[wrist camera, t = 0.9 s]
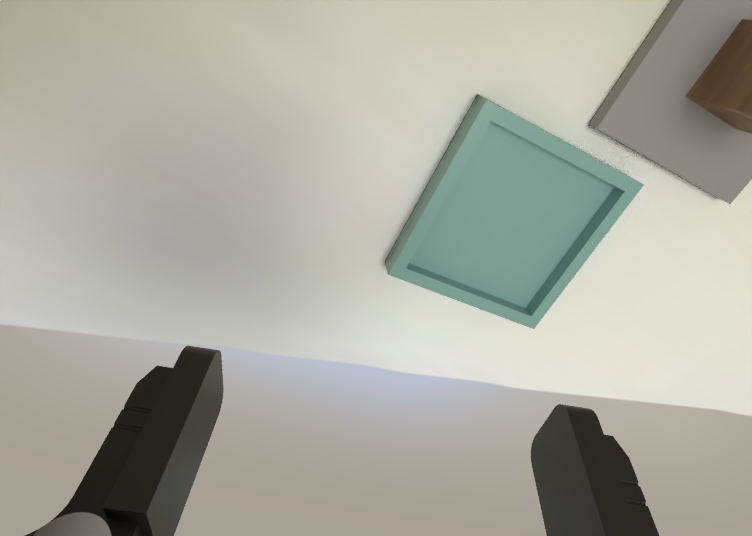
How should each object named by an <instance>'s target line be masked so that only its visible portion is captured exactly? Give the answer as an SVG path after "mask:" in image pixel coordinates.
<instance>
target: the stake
mask: <svg viewBox="0 0 752 536" xmlns="http://www.w3.org/2000/svg"><path fill="white" fill-rule="evenodd" d="M742 19H746V20H752V0H671V1H670V3H669V4H668V6H667V7H666V9H665V10H664V12H663V13H662V15H661V16H660V18H659V19H658V21H657V22H656V24H655V25H654V27H653V28H652V30H651V31H650V33H649V34H648V36H647V37H646V39H645V40H644V42H643V43H642V45H641V46H640V48H639V49H638V51H637V52H636V54H635V55H634V57H633V58H632V60H631V61H630V63H629V64H628V66H627V67H626V69H625V70H624V72H623V73H622V75H621V76H620V78H619V79H618V81H617V82H616V84H615V85H614V87H613V88H612V90H611V91H610V93H609V94H608V96H607V97H606V99H605V100H604V102H603V103H602V105H601V106H600V108H599V109H598V111H597V112H596V114H595V115H594V117H593V118H592V120H591V121H590V123H589V124H588V125H590V126H592V127H594V128H595V129H597V130H599V131H601V132H602V133H604V134H606V135H608V136H609V137H611V138H613V139H615V140H617V141H618V142H620V143H622V144H624V145H625V146H627V147H629V148H631V149H632V150H634V151H636V152H638V153H639V154H641V155H643V156H645V157H646V158H648V159H650V160H652V161H653V162H655V163H657V164H659V165H661V166H662V167H664V168H666V169H668V170H669V171H671V172H673V173H675V174H676V175H678V176H680V177H682V178H683V179H685V180H687V181H689V182H690V183H692V184H694V185H696V186H698V187H699V188H701V189H703V190H705V191H706V192H708V193H710V194H712V195H713V196H715V197H717V198H719V199H721V200H723V201H725V202H727V203H729V204H731V202H732V201H733V200H734V199H735V198H736V197H737V196H738V194H739V193H740V192H741V191H742V190H743V189H744V187H745V186H746V185H747V184H748V183H749V182H750V180H751V179H752V134H751V133H748V132H744V131H741V130H738V129H735V128H733V127H732V126H730V125H729V124H727V123H726V122H724V121H722V120H721V119H719V118H718V117H716V116H715V115H713V114H712V113H710V112H708V111H707V110H705V109H704V108H702V107H701V106H699V105H698V104H696V103H695V102H693V101H691V100H690V99H688V98H687V97H685V96H686V95H687V93H688V92H689V90H690V89H691V88H692V86H693V85H694V84H695V82H696V81H697V80H698V78H699V77H700V76H701V74H702V73H703V72H704V70H705V69H706V67H707V66H708V65H709V63H710V62H711V61H712V59H713V58H714V57H715V55H716V54H717V53H718V51H719V50H720V49H721V47H722V46H723V44H724V43H725V42H726V40H727V39H728V38H729V36H730V35H731V34H732V32H733V31H734V30H735V28H736V27H737V26H738V24H739V23H740V21H741V20H742Z"/></svg>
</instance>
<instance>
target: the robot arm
mask: <svg viewBox="0 0 752 536" xmlns="http://www.w3.org/2000/svg"><path fill="white" fill-rule="evenodd" d="M222 377H223V376H222V360H221V352H220V351H219V350H212V349H206V348H199V347H193V346H186V347H185V348H184V349H183V350H182V352H181V354H180V356H179V358H178V360H177V362H176V364H175V366H174V368H168V367H162V366H156V367H155V368H154V369H153V370H152V371H151V372H149V373H148V374H147V375H146V376H145V377H144V378H143V379H141V380H140V381H139V382H138V383H137V384H136V386H135V388H134V390H133V391H132V393H131V395H130V397H129V398H128V400H127V402H126V404H125V407H124V409H123V410H122V411H121V412H120V414H119V416H118V418H117V420H116V421H115V423H114V427H113V428H111V430H110V432H109V434H108V435H107V437H106V439H105V441H104V443H103V444H102V446H101V448H100V450H99V451H98V453H97V455H96V457H95V458H94V460H93V462H92V464H91V466H90V468H89V469H88V471H87V473H86V475H85V476H84V478H83V480H82V482H81V483H80V485H79V487H78V489H77V490H76V492H75V494H74V496H73V497H72V499H71V500H70V502H69V504H68V505H67V506H66V507H65V508H64V509H63V510H62V512H60V513H59V515H57V516H56V517H55V518H54V519H53V520H51V521H50V522H49V523H48V524H46V525H45V526H43V527H41V528H40V529H38V530H36V531H34V532H32V533H30V534H28V535H25V536H174V533H175V531H176V528H177V525H178V523H179V520H180V517H181V515H182V512H183V509H184V506H185V504H186V501H187V498H188V495H189V493H190V490H191V487H192V485H193V482H194V479H195V477H196V474H197V472H198V469H199V466H200V463H201V461H202V458H203V455H204V453H205V450H206V447H207V445H208V442H209V439H210V437H211V434H212V431H213V429H214V426H215V423H216V420H217V418H218V415H219V412H220V408H221V404H222V398H223V378H222ZM531 462H532V468H533V472H534V477H535V482H536V486H537V491H538V496H539V500H540V505H541V510H542V515H543V519H544V524H545V529H546V533H547V536H659V534H658V531H657V529H656V526H655V524H654V521H653V518H652V516H651V513H650V511H649V508H648V506H646V505H645V502H646V500H645V498H644V495H643V493H642V490H641V488H640V486H638V480H637V477H636V475H635V472H634V469H633V467H632V464H631V462H630V459H629V457H628V456H627V455H626V453H625V452H624V451H623V449H622V448H621V447H620V445H619V444H618V443H617V441H616V440H615V439H614V437H613V436H609V435H604V434H603V431H602V429H601V426H600V423H599V420H598V417H597V416H596V414H595V412H594V411H593V410H591V409H587V408H581V407H574V406H568V405H561V404H559V405H557V406H556V407H555V408H554V409H553V411H552V413H551V414H550V415H549V417H548V419H547V420H546V421H545V423H544V424H543V426H542V427H541V428H540V430H539V431H538V433H537V434H536V436H535V437H534V440H533V443H532V447H531Z"/></svg>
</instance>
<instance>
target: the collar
mask: <svg viewBox="0 0 752 536" xmlns="http://www.w3.org/2000/svg"><path fill="white" fill-rule="evenodd" d="M685 97H687V98H688V99H690V100H691V101H693V102H695V103H696V104H698V105H699V106H701V107H702V108H704V109H705V110H707V111H708V112H710V113H712V114H713V115H715V116H716V117H718V118H719V119H721V120H722V121H724V122H726V123H727V124H729V125H730V126H732V127H733V128H735V129H738V130H741V131H744V132H748V133H751V134H752V20H746V19H742V20H741V21H740V23H739V24H738V26H737V27H736V28H735V30H734V31H733V32H732V34H731V35H730V36H729V38H728V39H727V40H726V42H725V43H724V44H723V46H722V47H721V49H720V50H719V51H718V53H717V54H716V55H715V57H714V58H713V59H712V61H711V62H710V63H709V65H708V66H707V67H706V69H705V70H704V72H703V73H702V74H701V76H700V77H699V78H698V80H697V81H696V82H695V84H694V85H693V86H692V88H691V89H690V90H689V92H688V93H687V95H686V96H685Z"/></svg>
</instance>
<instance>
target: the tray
mask: <svg viewBox="0 0 752 536" xmlns="http://www.w3.org/2000/svg"><path fill="white" fill-rule="evenodd" d="M642 186H643V184H642V183H640V182H638V181H636V180H635V179H633V178H631V177H629V176H627V175H625V174H624V173H622V172H620V171H618V170H616V169H614V168H613V167H611V166H609V165H607V164H605V163H603V162H601V161H600V160H598V159H596V158H594V157H592V156H590V155H589V154H587V153H585V152H583V151H581V150H579V149H578V148H576V147H574V146H572V145H570V144H568V143H566V142H565V141H563V140H561V139H559V138H557V137H555V136H554V135H552V134H550V133H548V132H546V131H544V130H542V129H541V128H539V127H537V126H535V125H533V124H531V123H530V122H528V121H526V120H524V119H522V118H520V117H518V116H517V115H515V114H513V113H511V112H509V111H507V110H506V109H504V108H502V107H500V106H498V105H496V104H495V103H493V102H491V101H489V100H487V99H485V98H483V97H482V96H480V95H478V94H477V96H476V98H475V100H474V101H473V103H472V105H471V107H470V109H469V111H468V112H467V114H466V116H465V118H464V120H463V121H462V123H461V125H460V127H459V129H458V130H457V132H456V134H455V136H454V138H453V139H452V141H451V143H450V145H449V147H448V149H447V150H446V152H445V154H444V156H443V158H442V159H441V161H440V163H439V165H438V167H437V168H436V170H435V172H434V174H433V176H432V178H431V179H430V181H429V183H428V185H427V187H426V188H425V190H424V192H423V194H422V196H421V197H420V199H419V201H418V203H417V205H416V207H415V208H414V210H413V212H412V214H411V216H410V217H409V219H408V221H407V223H406V225H405V226H404V228H403V230H402V232H401V234H400V236H399V237H398V239H397V241H396V243H395V245H394V246H393V248H392V250H391V252H390V254H389V255H388V257H387V259H386V261H385V264H386V268H387V271H388V275H391V276H394V277H396V278H399V279H402V280H404V281H407V282H410V283H412V284H415V285H418V286H420V287H423V288H426V289H428V290H431V291H434V292H436V293H439V294H442V295H445V296H447V297H450V298H453V299H455V300H458V301H461V302H463V303H466V304H469V305H471V306H474V307H477V308H479V309H482V310H485V311H487V312H490V313H493V314H495V315H498V316H501V317H503V318H506V319H509V320H511V321H514V322H517V323H519V324H522V325H525V326H527V327H530V328H533V329H534V328H535V327H536V325H537V324H538V323H539V322H540V320H541V319H542V318H543V316H544V315H545V314H546V312H547V311H548V310H549V308H550V307H551V306H552V304H553V303H554V302H555V301H556V299H557V298H558V297H559V295H560V294H561V293H562V291H563V290H564V289H565V287H566V286H567V285H568V283H569V282H570V281H571V280H572V278H573V277H574V276H575V274H576V273H577V272H578V270H579V269H580V268H581V266H582V265H583V264H584V263H585V261H586V260H587V259H588V257H589V256H590V255H591V253H592V252H593V251H594V249H595V248H596V247H597V245H598V244H599V243H600V242H601V240H602V239H603V238H604V236H605V235H606V234H607V232H608V231H609V230H610V228H611V227H612V226H613V224H614V223H615V222H616V221H617V219H618V218H619V217H620V215H621V214H622V213H623V211H624V210H625V209H626V207H627V206H628V205H629V204H630V202H631V201H632V200H633V198H634V197H635V196H636V194H637V193H638V192H639V190H640V189H641V188H642Z"/></svg>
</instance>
